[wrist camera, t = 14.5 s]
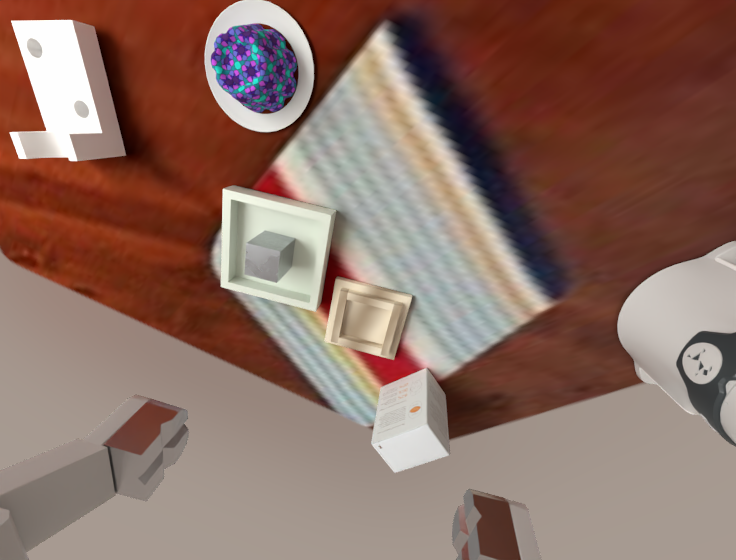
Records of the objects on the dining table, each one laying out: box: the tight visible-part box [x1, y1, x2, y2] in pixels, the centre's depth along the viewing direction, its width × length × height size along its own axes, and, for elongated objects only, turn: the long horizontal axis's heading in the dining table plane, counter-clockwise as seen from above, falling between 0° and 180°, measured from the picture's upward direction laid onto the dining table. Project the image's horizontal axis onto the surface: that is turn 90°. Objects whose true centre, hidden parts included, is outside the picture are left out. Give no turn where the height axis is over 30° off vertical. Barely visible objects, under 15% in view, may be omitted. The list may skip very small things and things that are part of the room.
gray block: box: [244, 231, 295, 283], centre depth 43 cm, size 4×4×5 cm
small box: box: [371, 368, 450, 473], centre depth 47 cm, size 8×6×10 cm
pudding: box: [205, 0, 314, 132], centre depth 35 cm, size 12×12×5 cm
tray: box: [221, 185, 336, 312], centre depth 44 cm, size 13×13×2 cm
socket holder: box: [324, 276, 412, 360], centre depth 47 cm, size 10×10×2 cm
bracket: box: [10, 20, 126, 161], centre depth 38 cm, size 13×7×8 cm, turn 178°
